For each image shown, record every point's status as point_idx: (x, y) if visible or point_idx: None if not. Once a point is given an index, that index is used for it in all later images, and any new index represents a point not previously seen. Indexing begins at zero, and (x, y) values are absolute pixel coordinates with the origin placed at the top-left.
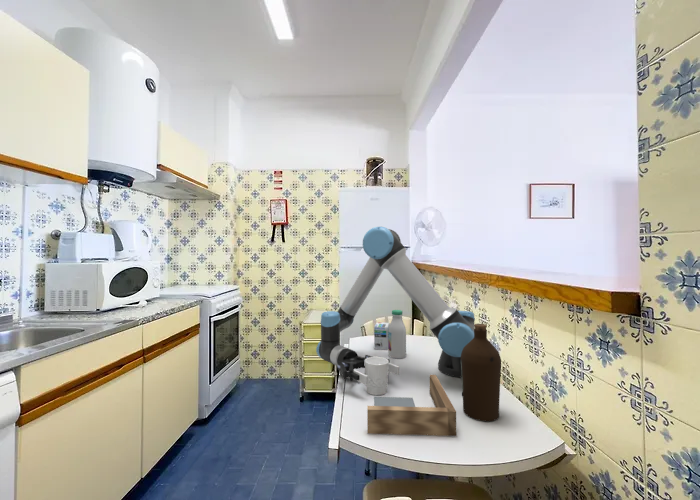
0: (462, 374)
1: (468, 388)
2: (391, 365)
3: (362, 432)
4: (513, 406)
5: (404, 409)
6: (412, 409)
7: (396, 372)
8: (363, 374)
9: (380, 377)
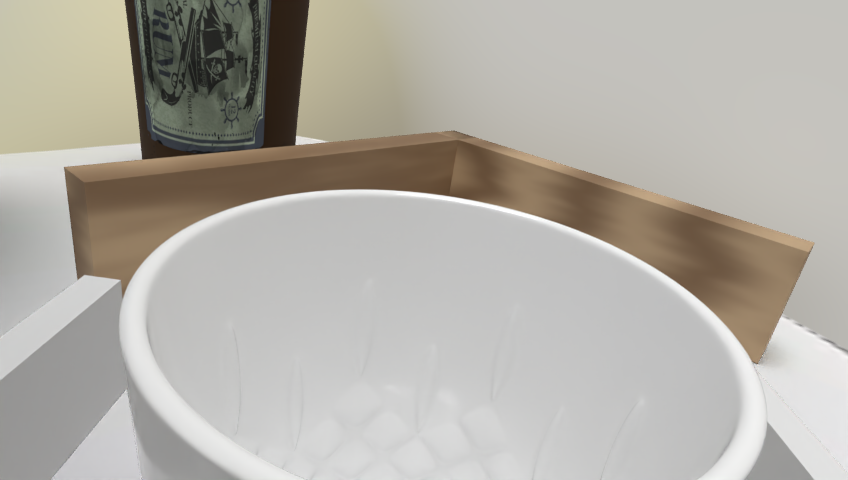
0: (271, 35)
1: (294, 85)
2: (23, 375)
3: (791, 365)
4: (85, 155)
5: (622, 185)
6: (589, 175)
7: (113, 371)
8: (785, 424)
9: (479, 382)
